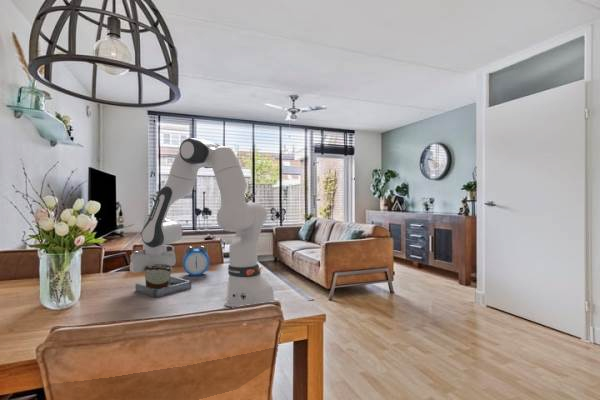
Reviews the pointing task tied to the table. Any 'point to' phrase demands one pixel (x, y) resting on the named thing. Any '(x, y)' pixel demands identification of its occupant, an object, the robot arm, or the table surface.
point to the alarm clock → (196, 260)
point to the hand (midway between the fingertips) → (153, 278)
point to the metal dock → (180, 285)
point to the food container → (157, 275)
